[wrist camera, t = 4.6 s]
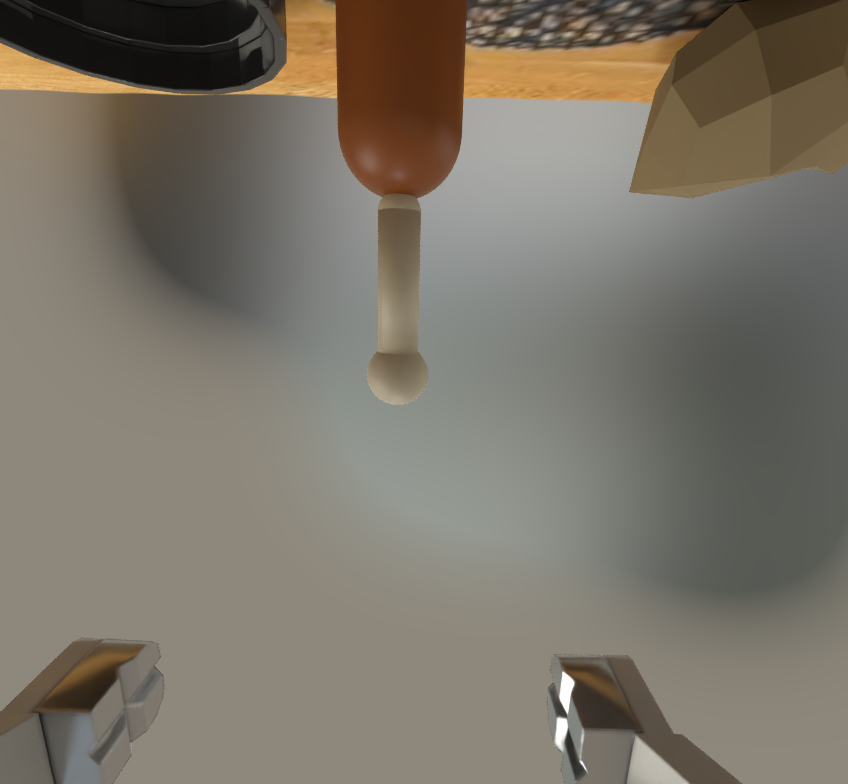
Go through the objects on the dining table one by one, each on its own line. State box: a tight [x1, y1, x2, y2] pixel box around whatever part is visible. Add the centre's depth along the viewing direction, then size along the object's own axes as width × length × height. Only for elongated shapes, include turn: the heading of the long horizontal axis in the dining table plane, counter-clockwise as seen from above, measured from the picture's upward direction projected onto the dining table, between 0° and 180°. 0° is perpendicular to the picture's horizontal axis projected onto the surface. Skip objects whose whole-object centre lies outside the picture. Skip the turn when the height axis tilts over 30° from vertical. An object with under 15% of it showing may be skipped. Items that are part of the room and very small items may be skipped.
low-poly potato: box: [629, 0, 848, 198], centre depth 27 cm, size 15×11×12 cm
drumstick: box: [336, 0, 467, 405], centre depth 18 cm, size 5×5×21 cm
